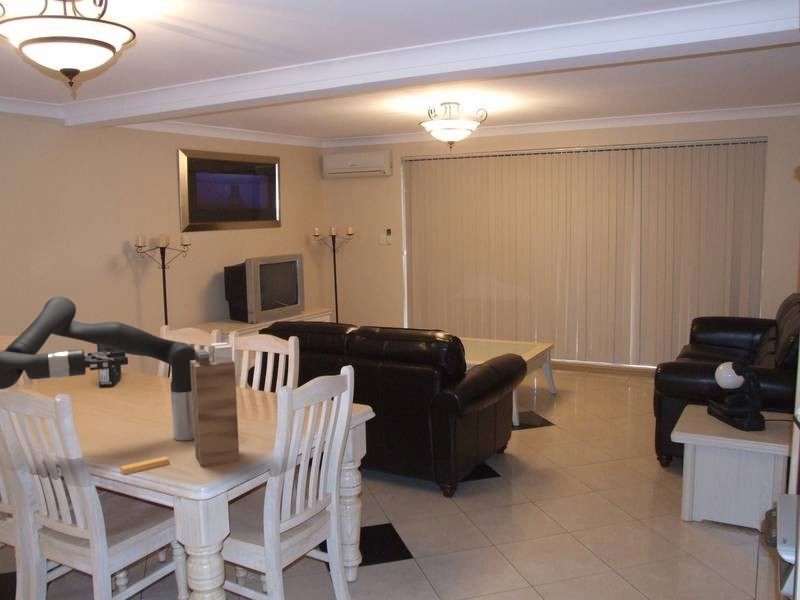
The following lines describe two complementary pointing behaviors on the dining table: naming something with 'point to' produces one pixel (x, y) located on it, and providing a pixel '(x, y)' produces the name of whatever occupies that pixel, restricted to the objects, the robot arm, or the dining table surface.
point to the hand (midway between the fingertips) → (126, 357)
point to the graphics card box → (108, 371)
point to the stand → (214, 405)
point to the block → (144, 465)
